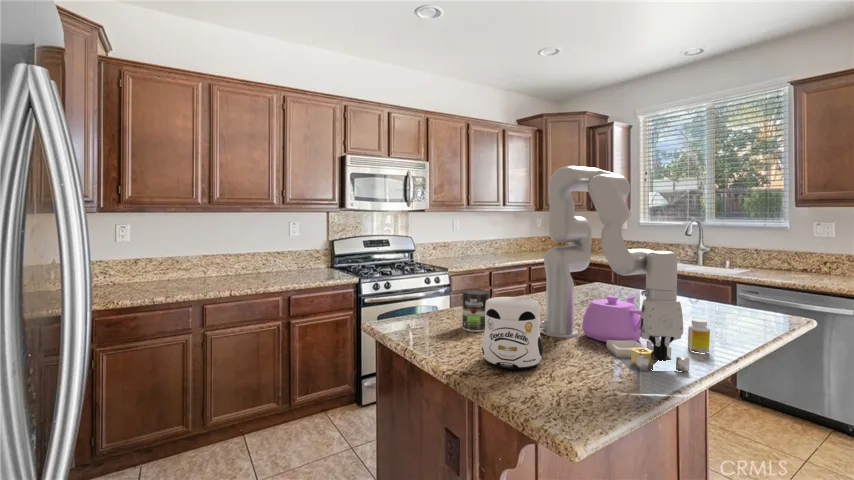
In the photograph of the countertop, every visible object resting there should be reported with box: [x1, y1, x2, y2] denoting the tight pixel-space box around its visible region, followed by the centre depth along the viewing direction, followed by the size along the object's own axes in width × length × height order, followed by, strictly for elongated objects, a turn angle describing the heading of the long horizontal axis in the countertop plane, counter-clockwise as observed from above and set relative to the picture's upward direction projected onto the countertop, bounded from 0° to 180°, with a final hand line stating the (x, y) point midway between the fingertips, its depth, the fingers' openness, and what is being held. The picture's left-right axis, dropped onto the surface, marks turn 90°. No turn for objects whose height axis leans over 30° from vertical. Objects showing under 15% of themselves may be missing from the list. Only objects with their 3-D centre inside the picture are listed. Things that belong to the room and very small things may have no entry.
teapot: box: [581, 294, 641, 343], centre depth 141 cm, size 23×21×15 cm
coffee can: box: [461, 289, 491, 333], centre depth 155 cm, size 10×10×14 cm
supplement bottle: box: [687, 318, 711, 353], centre depth 127 cm, size 6×6×10 cm
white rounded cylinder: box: [481, 296, 544, 370], centre depth 119 cm, size 17×17×18 cm
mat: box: [614, 355, 658, 373], centre depth 121 cm, size 15×20×1 cm
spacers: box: [636, 339, 690, 373], centre depth 120 cm, size 14×20×4 cm
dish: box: [606, 340, 647, 358], centre depth 127 cm, size 9×9×2 cm
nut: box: [631, 347, 653, 368], centre depth 117 cm, size 6×5×4 cm
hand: (660, 358), depth 116 cm, fingers closed
